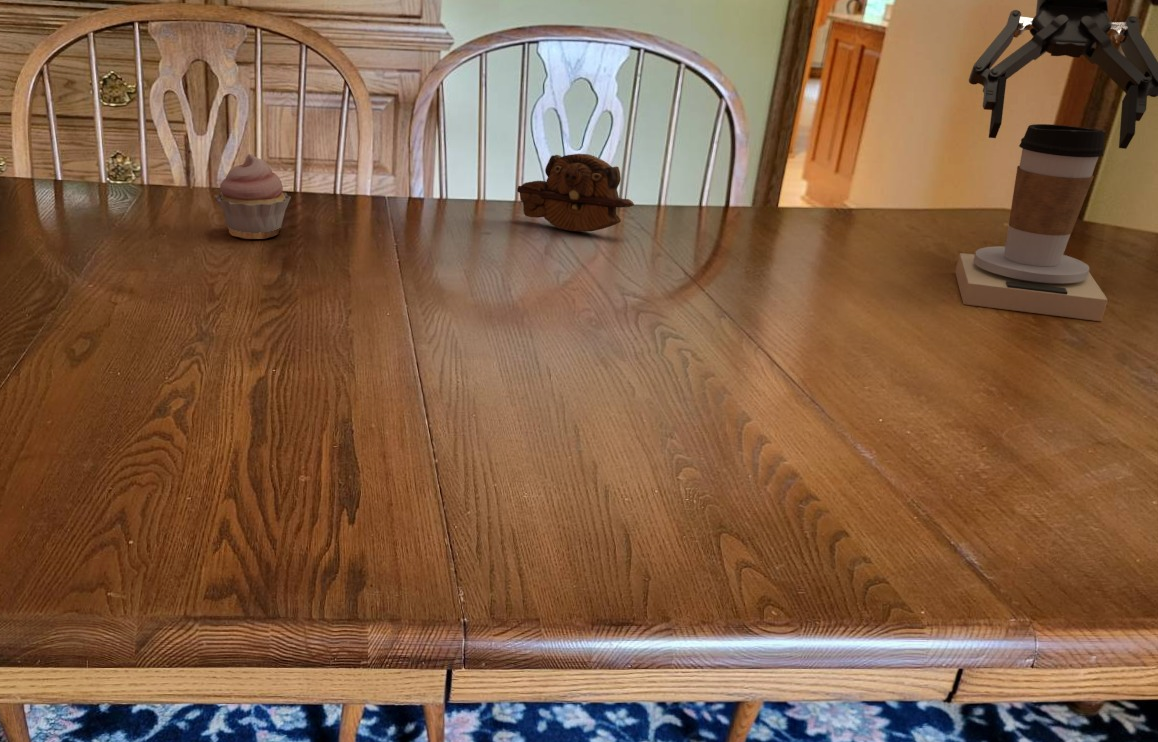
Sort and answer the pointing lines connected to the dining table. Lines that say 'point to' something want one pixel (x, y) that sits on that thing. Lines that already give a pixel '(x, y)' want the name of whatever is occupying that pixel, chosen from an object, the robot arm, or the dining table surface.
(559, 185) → the wooden carving
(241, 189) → the cupcake
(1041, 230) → the coffee cup
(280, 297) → the dining table surface
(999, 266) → the kitchen scale
